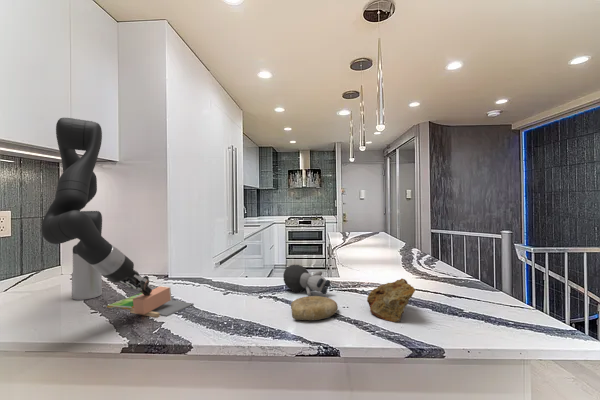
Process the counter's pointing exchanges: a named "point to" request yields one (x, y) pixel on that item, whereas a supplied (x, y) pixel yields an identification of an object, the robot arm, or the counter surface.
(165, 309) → the mat
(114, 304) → the green flat panel
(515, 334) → the counter surface
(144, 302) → the block
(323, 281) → the toy
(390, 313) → the rock
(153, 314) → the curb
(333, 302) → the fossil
